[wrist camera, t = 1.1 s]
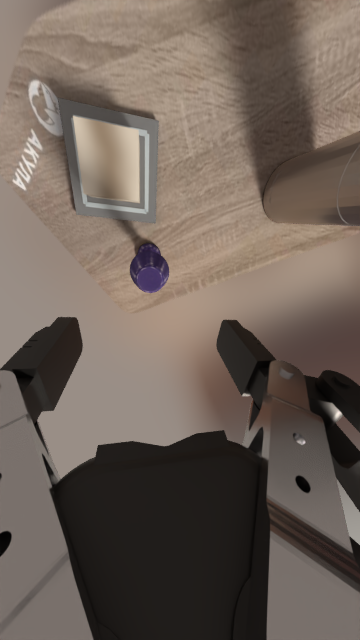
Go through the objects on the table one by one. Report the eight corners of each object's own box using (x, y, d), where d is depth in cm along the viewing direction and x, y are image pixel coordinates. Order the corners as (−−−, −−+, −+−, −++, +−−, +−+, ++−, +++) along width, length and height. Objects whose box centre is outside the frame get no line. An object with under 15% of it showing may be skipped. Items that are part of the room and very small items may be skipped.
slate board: (158, 124, 24) (158, 120, 23) (155, 223, 30) (155, 223, 29) (61, 102, 22) (57, 97, 21) (78, 214, 27) (76, 214, 27)
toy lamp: (130, 253, 32) (117, 282, 17) (147, 233, 30) (148, 246, 16) (150, 271, 34) (153, 310, 20) (166, 253, 33) (183, 281, 18)
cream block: (139, 142, 24) (138, 129, 20) (140, 203, 27) (139, 201, 24) (83, 131, 22) (72, 115, 19) (91, 197, 26) (83, 193, 22)
